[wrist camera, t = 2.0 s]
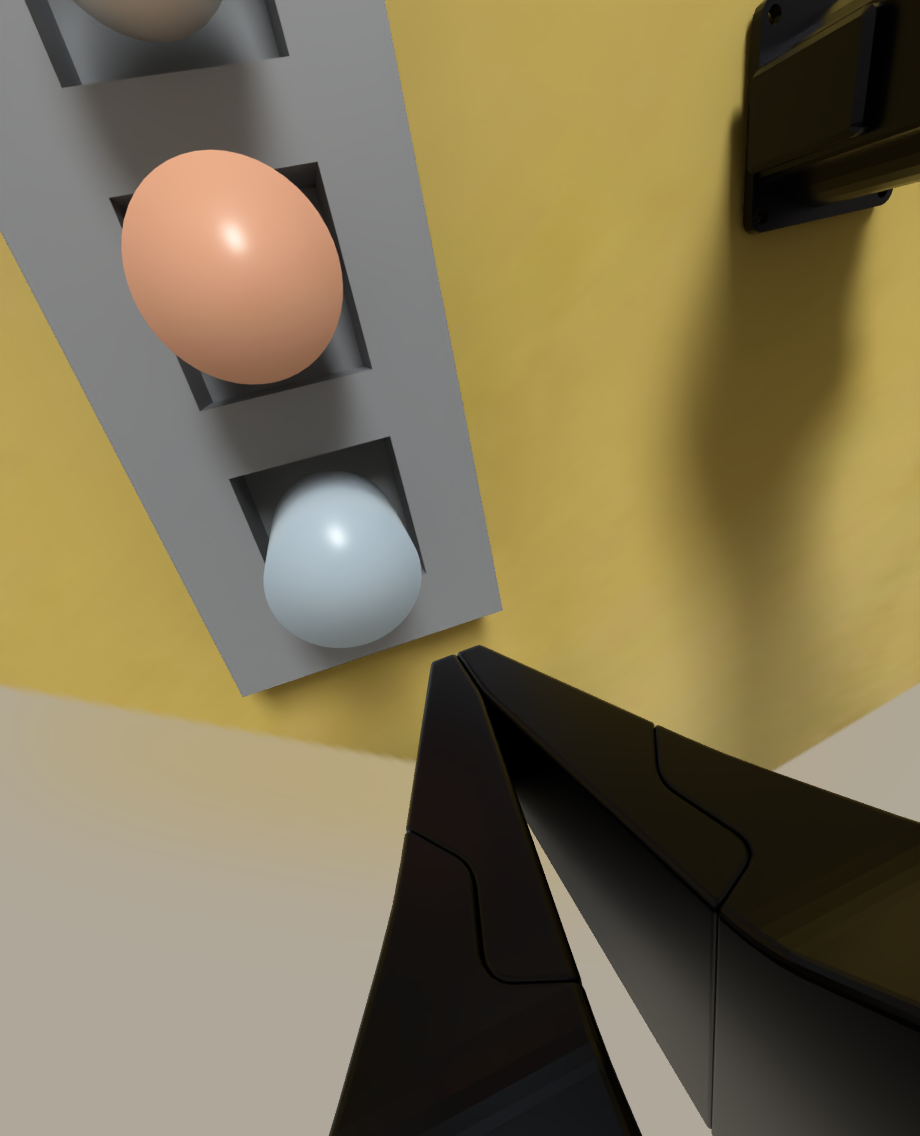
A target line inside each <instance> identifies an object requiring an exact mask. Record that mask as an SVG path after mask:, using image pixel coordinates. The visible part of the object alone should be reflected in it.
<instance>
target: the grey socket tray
mask: <svg viewBox="0 0 920 1136" xmlns="http://www.w3.org/2000/svg"><path fill="white" fill-rule="evenodd" d="M200 150H222V151H229V152H234V153H238V154H242V155H245V156H248V157H250V158H253V159H256V160H258V161H260V162H262V163H264V164H266V165H268V166H270V167H271V168H273V169H274V170H276V171H277V172H279V173H280V174H282V175H283V176H285V177H286V178H287V179H288V180H289V181H291V182H292V183H293V184H294V185H295V186H296V187H297V188H298V189H299V190H300V191H301V192H302V193H303V194H304V195H305V196H306V197H307V198H308V199H309V201H310V202H311V203H312V205H313V206H314V207H315V209H316V210H317V211H318V213H319V214H320V216H321V218H322V219H323V221H324V223H325V224H326V226H327V228H328V230H329V232H330V235H331V237H332V239H333V241H334V244H335V247H336V250H337V253H338V256H339V261H340V266H341V271H342V281H343V301H342V308H341V314H340V317H339V321H338V325H337V327H336V330H335V332H334V334H333V337H332V339H331V340H330V342H329V344H328V345H327V347H326V349H325V350H324V351H323V352H322V353H321V355H320V356H319V357H318V358H317V359H316V360H315V361H314V362H313V363H312V364H311V365H310V366H308V367H307V368H305V369H304V370H302V371H301V372H299V373H298V374H296V375H293V376H291V377H289V378H287V379H284V380H281V381H277V382H273V383H267V384H251V385H250V384H240V383H234V382H229V381H225V380H222V379H219V378H216V377H213V376H210V375H208V374H206V373H204V372H202V371H200V370H198V369H196V368H194V367H193V366H191V365H190V364H188V363H186V362H185V361H183V360H182V359H181V358H180V357H178V356H177V355H176V354H175V353H173V352H172V351H171V350H170V349H169V348H168V347H167V346H166V345H165V344H164V343H163V342H162V341H161V340H160V339H159V338H158V337H157V335H156V334H155V333H154V332H153V331H152V329H151V328H150V327H149V325H148V324H147V322H146V321H145V319H144V318H143V316H142V315H141V313H140V311H139V309H138V307H137V305H136V303H135V301H134V299H133V297H132V294H131V292H130V289H129V286H128V284H127V280H126V276H125V272H124V268H123V260H122V251H121V246H122V229H123V223H124V218H125V215H126V211H127V208H128V205H129V203H130V201H131V199H132V197H133V195H134V193H135V191H136V189H137V188H138V187H139V185H140V184H141V183H142V181H143V180H144V179H145V178H146V177H147V176H148V175H149V174H150V173H151V172H152V171H153V170H154V169H155V168H156V167H158V166H159V165H161V164H162V163H164V162H165V161H167V160H169V159H171V158H174V157H176V156H178V155H181V154H185V153H189V152H193V151H200ZM0 231H1V233H2V235H3V237H4V239H5V241H6V243H7V244H8V246H9V248H10V250H11V252H12V254H13V256H14V258H15V260H16V262H17V264H18V266H19V268H20V269H21V271H22V273H23V275H24V277H25V279H26V281H27V283H28V285H29V287H30V289H31V291H32V293H33V294H34V296H35V298H36V300H37V302H38V304H39V306H40V308H41V310H42V312H43V314H44V316H45V318H46V319H47V321H48V323H49V325H50V327H51V329H52V331H53V333H54V335H55V337H56V339H57V341H58V343H59V345H60V346H61V348H62V350H63V352H64V354H65V356H66V358H67V360H68V362H69V364H70V366H71V368H72V370H73V371H74V373H75V375H76V377H77V379H78V381H79V383H80V385H81V387H82V389H83V391H84V393H85V395H86V396H87V398H88V400H89V402H90V404H91V406H92V408H93V410H94V412H95V414H96V416H97V418H98V420H99V421H100V423H101V425H102V427H103V429H104V431H105V433H106V435H107V437H108V439H109V441H110V443H111V445H112V446H113V448H114V450H115V452H116V454H117V456H118V458H119V460H120V462H121V464H122V466H123V468H124V470H125V471H126V473H127V475H128V477H129V479H130V481H131V483H132V485H133V487H134V489H135V491H136V493H137V495H138V496H139V498H140V500H141V502H142V504H143V506H144V508H145V510H146V512H147V514H148V516H149V518H150V520H151V521H152V523H153V525H154V527H155V529H156V531H157V533H158V535H159V537H160V539H161V541H162V543H163V545H164V546H165V548H166V550H167V552H168V554H169V556H170V558H171V560H172V562H173V564H174V566H175V568H176V570H177V571H178V573H179V575H180V577H181V579H182V581H183V583H184V585H185V587H186V589H187V591H188V593H189V595H190V597H191V598H192V600H193V602H194V604H195V606H196V608H197V610H198V612H199V614H200V616H201V618H202V620H203V622H204V623H205V625H206V627H207V629H208V631H209V633H210V635H211V637H212V639H213V641H214V643H215V645H216V647H217V648H218V650H219V652H220V654H221V656H222V658H223V660H224V662H225V664H226V666H227V668H228V670H229V672H230V673H231V675H232V677H233V679H234V681H235V683H236V685H237V687H238V689H239V691H240V693H241V695H242V697H245V696H248V695H251V694H254V693H257V692H260V691H263V690H266V689H269V688H272V687H275V686H278V685H281V684H284V683H287V682H290V681H293V680H296V679H299V678H302V677H305V676H308V675H311V674H313V673H316V672H319V671H322V670H325V669H328V668H331V667H334V666H337V665H340V664H343V663H346V662H349V661H352V660H355V659H358V658H361V657H364V656H367V655H370V654H373V653H376V652H379V651H382V650H385V649H388V648H391V647H394V646H397V645H400V644H403V643H406V642H409V641H412V640H415V639H418V638H421V637H424V636H427V635H430V634H433V633H436V632H439V631H442V630H445V629H448V628H451V627H454V626H457V625H460V624H463V623H466V622H469V621H472V620H475V619H478V618H481V617H484V616H487V615H490V614H493V613H496V612H499V611H502V610H503V609H502V604H501V599H500V594H499V589H498V583H497V578H496V573H495V568H494V563H493V558H492V553H491V547H490V542H489V537H488V532H487V527H486V522H485V516H484V511H483V506H482V501H481V496H480V491H479V485H478V480H477V475H476V470H475V465H474V460H473V454H472V449H471V444H470V439H469V434H468V429H467V423H466V418H465V413H464V408H463V403H462V398H461V392H460V387H459V382H458V377H457V372H456V367H455V362H454V356H453V351H452V346H451V341H450V336H449V331H448V325H447V320H446V315H445V310H444V305H443V300H442V294H441V289H440V284H439V279H438V274H437V269H436V263H435V258H434V253H433V248H432V243H431V238H430V232H429V227H428V222H427V217H426V212H425V207H424V201H423V196H422V191H421V186H420V181H419V176H418V170H417V165H416V160H415V155H414V150H413V145H412V140H411V134H410V129H409V124H408V119H407V114H406V109H405V103H404V98H403V93H402V88H401V83H400V78H399V72H398V67H397V62H396V57H395V52H394V47H393V41H392V36H391V31H390V26H389V21H388V16H387V10H386V5H385V0H222V2H221V4H220V6H219V8H218V10H217V11H216V13H215V14H214V15H213V17H212V18H211V20H210V21H209V22H208V23H207V24H206V25H205V26H204V27H203V28H201V29H200V30H198V31H197V32H195V33H194V34H192V35H190V36H188V37H186V38H183V39H180V40H176V41H171V42H149V41H142V40H138V39H135V38H131V37H128V36H126V35H123V34H121V33H119V32H116V31H114V30H112V29H111V28H109V27H107V26H105V25H103V24H102V23H100V22H99V21H97V20H96V19H95V18H93V17H92V16H90V15H89V14H88V13H86V12H85V11H84V10H83V9H82V8H81V7H79V6H78V5H77V4H76V3H75V2H74V1H73V0H0ZM331 470H338V471H347V472H352V473H355V474H358V475H360V476H363V477H365V478H367V479H368V480H370V481H372V482H373V483H374V484H376V485H377V486H378V487H379V488H380V489H381V490H382V491H383V492H384V493H385V494H386V496H387V497H388V499H389V500H390V502H391V504H392V506H393V507H394V509H395V511H396V513H397V515H398V517H399V519H400V520H401V522H402V524H403V526H404V528H405V530H406V531H407V533H408V535H409V537H410V539H411V541H412V542H413V544H414V546H415V548H416V550H417V553H418V556H419V559H420V564H421V574H422V578H421V587H420V591H419V595H418V597H417V600H416V602H415V604H414V606H413V608H412V610H411V611H410V613H409V614H408V615H407V617H406V618H405V619H404V620H403V621H402V622H401V624H400V625H398V626H397V627H396V628H395V629H394V630H392V631H391V632H390V633H388V634H387V635H385V636H383V637H381V638H379V639H378V640H375V641H373V642H370V643H368V644H364V645H360V646H356V647H349V648H330V647H324V646H319V645H315V644H312V643H309V642H307V641H304V640H302V639H300V638H299V637H297V636H295V635H293V634H292V633H291V632H290V631H288V630H287V629H286V628H285V627H284V626H283V625H282V624H281V623H280V622H279V621H278V620H277V618H276V617H275V616H274V614H273V613H272V611H271V609H270V607H269V605H268V602H267V599H266V596H265V591H264V580H263V577H264V569H265V562H266V556H267V550H268V544H269V538H270V532H271V526H272V520H273V516H274V512H275V509H276V507H277V504H278V502H279V501H280V499H281V498H282V496H283V495H284V494H285V492H286V491H287V490H288V489H289V488H290V487H291V486H292V485H293V484H295V483H296V482H298V481H299V480H301V479H303V478H305V477H307V476H309V475H311V474H314V473H317V472H322V471H331Z"/></svg>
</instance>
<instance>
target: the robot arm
mask: <svg viewBox="0 0 920 1136" xmlns="http://www.w3.org/2000/svg"><path fill="white" fill-rule="evenodd" d="M769 13H770V14H771V19H772V21H771V24H770V22H769V20H768V14H769ZM916 182H920V0H764V1H763V2H762V3H761V4H760V5H759V6H758V7H757V8H756V10H755V13H754V15H753V21H752V35H751V57H750V80H749V102H748V124H747V147H746V169H745V191H744V214H743V225H744V229H745V231H746V232H747V233H749V234H757V233H761V232H766V231H770V230H774V229H779V228H783V227H788V226H792V225H796V224H801V223H805V222H809V221H814V220H818V219H823V218H827V217H831V216H836V215H840V214H845V213H849V212H853V211H858V210H862V209H866V208H871V207H875V206H879V205H882V204H884V203H885V202H886V201H887V200H888V199H889V197H890V196H891V194H892V190H893V188H896V187H900V186H904V185H908V184H912V183H916ZM758 213H760V221H759V223H758V222H757V215H758ZM526 821H527V822H526ZM527 823H528V824H529V826H530V828H531V830H532V832H533V833H534V835H535V836H536V838H537V840H538V842H539V843H540V845H541V847H542V848H543V850H544V852H545V854H546V855H547V857H548V859H549V860H550V862H551V864H552V865H553V867H554V869H555V870H556V872H557V874H558V875H559V877H560V879H561V880H562V882H563V884H564V886H565V887H566V889H567V891H568V892H569V894H570V896H571V897H572V899H573V901H574V902H575V904H576V906H577V907H578V909H579V911H580V913H581V914H582V916H583V918H584V919H585V921H586V923H587V924H588V926H589V928H590V929H591V931H592V933H593V934H594V936H595V938H596V939H597V941H598V943H599V945H600V946H601V948H602V949H603V951H604V953H605V954H606V956H607V958H608V960H609V961H610V963H611V965H612V967H613V968H614V970H615V972H616V973H617V975H618V977H619V978H620V980H621V982H622V983H623V985H624V987H625V988H626V990H627V992H628V993H629V995H630V997H631V999H632V1000H633V1002H634V1003H635V1005H636V1007H637V1009H638V1010H639V1012H640V1014H641V1015H642V1017H643V1019H644V1020H645V1022H646V1024H647V1025H648V1027H649V1029H650V1031H651V1032H652V1034H653V1036H654V1037H655V1039H656V1041H657V1042H658V1044H659V1046H660V1047H661V1049H662V1051H663V1053H664V1054H665V1056H666V1058H667V1059H668V1061H669V1063H670V1064H671V1066H672V1068H673V1069H674V1071H675V1073H676V1074H677V1076H678V1078H679V1080H680V1081H681V1083H682V1085H683V1086H684V1088H685V1090H686V1091H687V1093H688V1094H689V1096H690V1098H691V1100H692V1101H693V1103H694V1105H695V1107H696V1108H697V1110H698V1112H699V1113H700V1115H701V1117H702V1118H703V1120H704V1122H705V1123H706V1125H707V1126H708V1128H710V1129H712V1135H713V1136H920V822H917V821H914V820H911V819H908V818H905V817H901V816H898V815H895V814H893V813H890V812H887V811H884V810H881V809H878V808H875V807H872V806H870V805H867V804H864V803H861V802H858V801H855V800H852V799H850V798H847V797H844V796H841V795H838V794H835V793H832V792H830V791H827V790H824V789H821V788H818V787H816V786H813V785H810V784H807V783H804V782H801V781H798V780H796V779H792V778H790V777H787V776H784V775H781V774H778V773H776V772H773V771H770V770H767V769H765V768H762V767H759V766H757V765H754V764H751V763H749V762H746V761H743V760H741V759H738V758H735V757H732V756H730V755H727V754H724V753H722V752H720V751H717V750H715V749H712V748H710V747H708V746H705V745H703V744H701V743H698V742H696V741H694V740H691V739H689V738H686V737H684V736H682V735H680V734H677V733H675V732H673V731H671V730H669V729H666V728H664V727H662V726H660V725H657V726H655V727H654V724H653V723H652V722H650V721H648V720H646V719H644V718H641V717H639V716H637V715H635V714H633V713H630V712H628V711H626V710H624V709H621V708H619V707H617V706H615V705H613V704H610V703H608V702H606V701H604V700H601V699H599V698H597V697H595V696H593V695H590V694H588V693H586V692H584V691H582V690H579V689H577V688H575V687H573V686H570V685H568V684H566V683H564V682H562V681H559V680H557V679H555V678H553V677H551V676H548V675H546V674H544V673H542V672H539V671H537V670H535V669H533V668H531V667H528V666H526V665H524V664H522V663H519V662H517V661H515V660H513V659H511V658H508V657H506V656H504V655H502V654H500V653H497V652H495V651H493V650H491V649H488V648H486V647H484V646H481V645H477V646H474V647H472V648H469V649H466V650H464V651H461V652H459V653H458V655H457V656H456V655H450V656H447V657H445V658H442V659H439V660H436V661H434V662H433V663H432V664H431V669H430V675H429V682H428V688H427V695H426V701H425V708H424V715H423V721H422V728H421V734H420V741H419V747H418V754H417V761H416V767H415V774H414V780H413V787H412V794H411V800H410V808H409V813H408V820H407V826H406V830H407V833H406V834H405V838H404V844H403V850H402V857H401V863H400V868H399V874H398V879H397V884H396V890H395V895H394V900H393V905H392V910H391V913H390V917H389V922H388V926H387V929H386V933H385V937H384V941H383V945H382V949H381V953H380V957H379V961H378V964H377V968H376V971H375V975H374V979H373V982H372V986H371V989H370V993H369V996H368V1000H367V1003H366V1007H365V1010H364V1014H363V1018H362V1021H361V1025H360V1028H359V1032H358V1036H357V1039H356V1042H355V1046H354V1050H353V1053H352V1057H351V1060H350V1064H349V1068H348V1071H347V1075H346V1079H345V1082H344V1085H343V1089H342V1092H341V1096H340V1100H339V1103H338V1107H337V1110H336V1113H335V1117H334V1120H333V1124H332V1127H331V1130H330V1133H329V1136H642V1134H641V1132H640V1130H639V1127H638V1125H637V1122H636V1120H635V1118H634V1115H633V1113H632V1111H631V1108H630V1106H629V1104H628V1101H627V1099H626V1097H625V1095H624V1092H623V1089H622V1087H621V1085H620V1082H619V1080H618V1077H617V1075H616V1072H615V1070H614V1068H613V1065H612V1063H611V1060H610V1058H609V1055H608V1052H607V1050H606V1047H605V1045H604V1042H603V1039H602V1036H601V1034H600V1031H599V1028H598V1026H597V1023H596V1020H595V1017H594V1015H593V1012H592V1009H591V1006H590V1003H589V1001H588V998H587V995H586V992H585V990H584V988H583V986H582V982H581V978H580V975H579V972H578V969H577V966H576V963H575V960H574V958H573V954H572V952H571V949H570V946H569V943H568V941H567V937H566V934H565V932H564V929H563V926H562V923H561V920H560V917H559V914H558V911H557V909H556V906H555V903H554V900H553V897H552V894H551V891H550V888H549V885H548V882H547V880H546V877H545V874H544V871H543V868H542V865H541V862H540V860H539V856H538V854H537V851H536V848H535V845H534V842H533V839H532V836H531V834H530V830H529V828H528V825H527Z"/></svg>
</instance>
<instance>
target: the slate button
mask: <svg viewBox="0 0 920 1136" xmlns="http://www.w3.org/2000/svg"><path fill="white" fill-rule="evenodd" d="M421 578H422V574H421V564H420V559H419V556H418V553H417V550H416V548H415V546H414V544H413V542H412V541H411V539H410V537H409V535H408V533H407V531H406V530H405V528H404V526H403V524H402V522H401V520H400V519H399V517H398V515H397V513H396V511H395V509H394V507H393V506H392V504H391V502H390V500H389V499H388V497H387V496H386V494H385V493H384V492H383V491H382V490H381V489H380V488H379V487H378V486H377V485H376V484H374V483H373V482H372V481H370V480H368V479H367V478H365V477H363V476H360V475H358V474H355V473H352V472H347V471H338V470H331V471H322V472H317V473H314V474H311V475H309V476H307V477H305V478H303V479H301V480H299V481H298V482H296V483H295V484H293V485H292V486H291V487H290V488H289V489H288V490H287V491H286V492H285V494H284V495H283V496H282V498H281V499H280V501H279V502H278V504H277V507H276V509H275V512H274V516H273V520H272V526H271V532H270V538H269V544H268V550H267V556H266V562H265V569H264V577H263V580H264V591H265V596H266V599H267V602H268V605H269V607H270V609H271V611H272V613H273V614H274V616H275V617H276V618H277V620H278V621H279V622H280V623H281V624H282V625H283V626H284V627H285V628H286V629H287V630H288V631H290V632H291V633H292V634H293V635H295V636H297V637H299V638H300V639H302V640H304V641H307V642H309V643H312V644H315V645H319V646H324V647H330V648H349V647H356V646H360V645H364V644H368V643H370V642H373V641H375V640H378V639H379V638H381V637H383V636H385V635H387V634H388V633H390V632H391V631H392V630H394V629H395V628H396V627H397V626H398V625H400V624H401V622H402V621H403V620H404V619H405V618H406V617H407V615H408V614H409V613H410V611H411V610H412V608H413V606H414V604H415V602H416V600H417V597H418V595H419V591H420V587H421Z"/></svg>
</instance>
